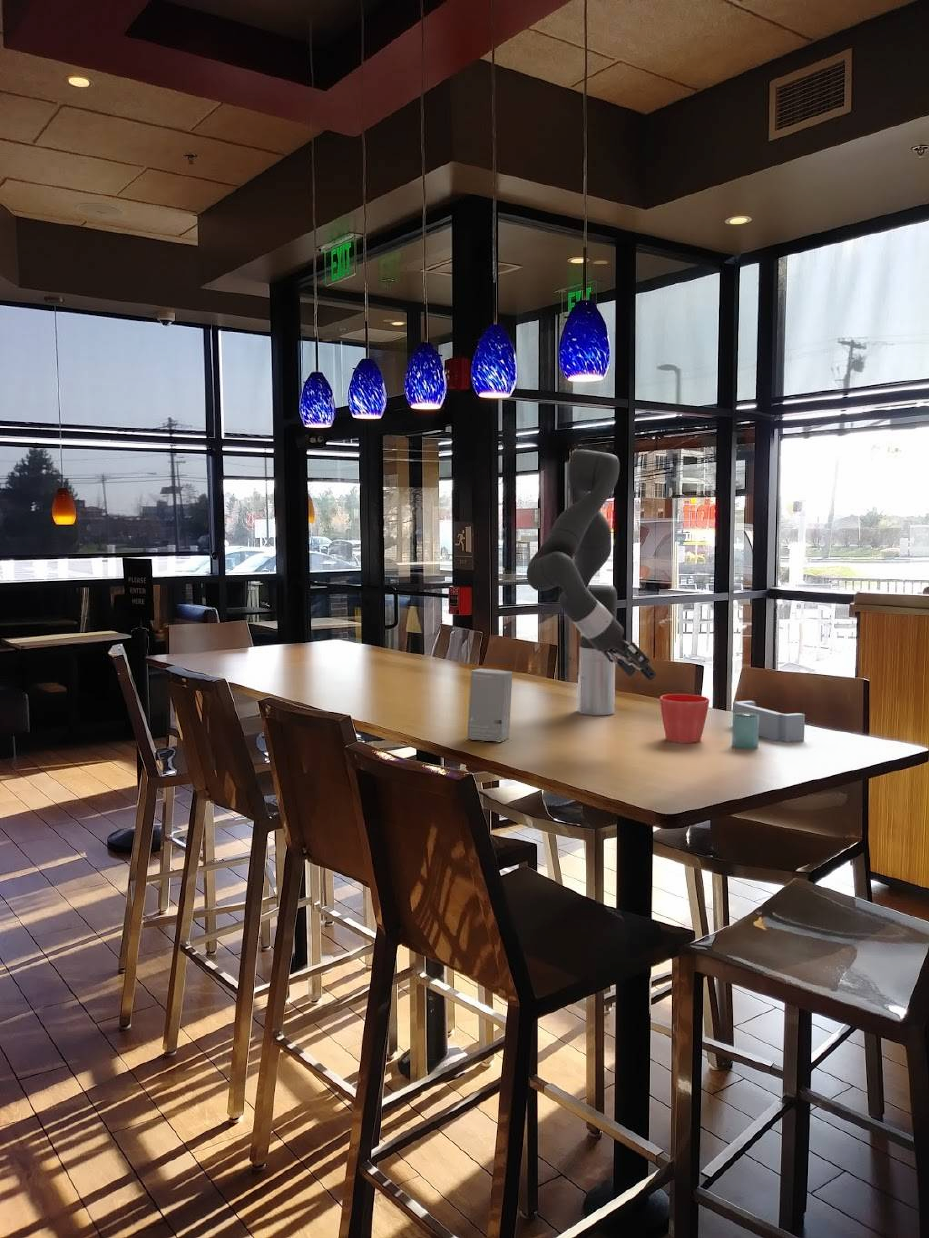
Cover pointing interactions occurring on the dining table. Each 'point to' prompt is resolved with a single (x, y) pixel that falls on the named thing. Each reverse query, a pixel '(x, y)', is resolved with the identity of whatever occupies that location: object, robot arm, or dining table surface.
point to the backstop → (774, 722)
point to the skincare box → (489, 705)
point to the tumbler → (745, 730)
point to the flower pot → (684, 717)
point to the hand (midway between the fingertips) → (642, 675)
